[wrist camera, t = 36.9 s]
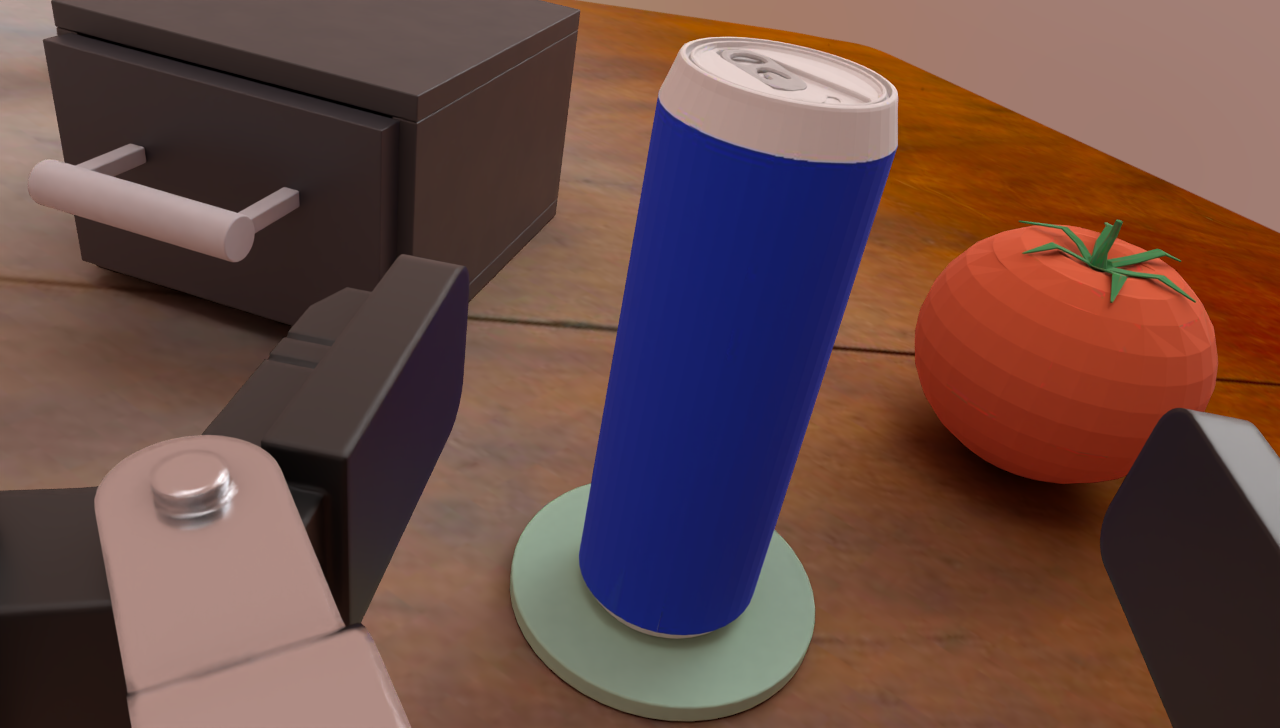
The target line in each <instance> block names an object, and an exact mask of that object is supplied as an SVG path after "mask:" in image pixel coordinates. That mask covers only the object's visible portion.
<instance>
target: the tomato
mask: <svg viewBox="0 0 1280 728" xmlns="http://www.w3.org/2000/svg"><path fill="white" fill-rule="evenodd" d="M1019 222H1021V223H1027V224H1033V225H1036V226H1030V227H1023V228H1019V229H1014V230H1010V231H1005V232H1001V233H999V234H996V235H994V236H991V237H989V238H986V239H984V240H981V241H979V242H977V243H976V244H974V245H973V246H972V247H970V248H969V249H968V250H966V251H965V252H963V253H962V254H961V255H959V256H958V257H957V258H956V259H954V260H953V261H952V262H950V263H949V265H948V266H947V267H946V268H945V269H944V270H943V272H942V273H941V274H940V275H939V276H938V277H937V279H936V280H935V282H934V284H933V285H932V287H931V289H930V291H929V293H928V295H927V297H926V299H925V301H924V303H923V305H922V307H921V309H920V312H919V316H918V321H917V325H916V329H915V364H916V368H917V371H918V375H919V379H920V382H921V385H922V388H923V391H924V394H925V396H926V398H927V400H928V402H929V403H930V405H931V407H932V408H933V410H934V412H935V413H936V415H937V416H938V418H939V419H940V421H941V423H942V424H943V425H944V426H945V427H946V428H947V429H948V430H949V431H950V432H951V433H952V434H953V435H954V436H955V437H956V438H957V439H958V440H959V441H960V442H961V443H962V444H963V445H965V446H966V447H967V448H968V449H969V450H971V451H972V452H973V453H974V454H976V455H977V456H979V457H981V458H982V459H984V460H985V461H987V462H989V463H991V464H993V465H995V466H996V467H998V468H1000V469H1003V470H1005V471H1008V472H1010V473H1013V474H1015V475H1018V476H1022V477H1025V478H1029V479H1033V480H1039V481H1045V482H1052V483H1059V484H1071V483H1096V482H1102V481H1108V480H1114V479H1119V478H1121V477H1124V476H1127V474H1128V472H1129V471H1130V469H1131V467H1132V465H1133V464H1134V462H1135V460H1136V459H1137V457H1138V455H1139V453H1140V452H1141V450H1142V448H1143V446H1144V445H1145V443H1146V441H1147V439H1148V438H1149V436H1150V434H1151V432H1152V431H1153V429H1154V427H1155V426H1156V424H1157V423H1158V421H1159V420H1160V418H1161V417H1162V416H1163V415H1164V414H1165V413H1167V412H1168V411H1170V410H1171V409H1174V408H1185V409H1190V410H1195V411H1200V412H1204V411H1205V409H1206V406H1207V404H1208V402H1209V399H1210V397H1211V395H1212V393H1213V390H1214V388H1215V382H1216V375H1217V367H1218V357H1217V349H1216V341H1215V334H1214V327H1213V325H1212V323H1211V321H1210V319H1209V317H1208V315H1207V313H1206V311H1205V309H1204V307H1203V304H1202V303H1201V301H1200V300H1199V299H1198V297H1197V296H1196V295H1195V293H1194V292H1193V291H1192V289H1191V288H1190V287H1189V285H1188V284H1187V283H1186V282H1185V281H1184V280H1183V278H1182V277H1181V276H1180V275H1179V274H1178V273H1177V272H1176V270H1175V269H1173V268H1172V267H1170V266H1169V265H1167V264H1166V263H1165V262H1163V261H1162V260H1160V259H1159V257H1162V256H1167V257H1170V258H1172V259H1174V260H1176V261H1179V262H1181V260H1179V259H1177V258H1175V257H1173V256H1171V255H1169V254H1168V253H1166V252H1164V251H1162V250H1160V249H1155V250H1151V251H1146V250H1144V249H1142V248H1139V247H1137V246H1134V245H1132V244H1130V243H1127V242H1125V241H1122V240H1120V239H1117V236H1118V233H1119V231H1120V228H1121V226H1122V223H1123V222H1122V221H1121V220H1116V222H1115V223H1114V225H1113V226H1112V225H1110V224H1108V223H1106V222H1105V223H1104V224H1105V225H1106V227H1105V228H1104V230H1103V231H1102V233H1098V232H1095V231H1091V230H1087V229H1084V228H1079V227H1073V226H1066V225H1050V224H1043V223H1035V222H1027V221H1019Z"/></svg>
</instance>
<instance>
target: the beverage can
mask: <svg viewBox="0 0 1280 728" xmlns="http://www.w3.org/2000/svg"><path fill="white" fill-rule="evenodd" d="M897 146H898V93H897V90H896V88H895V87H894V86H893V85H892V84H891V83H890V82H889V81H888V80H887V79H885V78H884V77H882V76H881V75H879V74H877V73H876V72H874V71H872V70H870V69H868V68H866V67H864V66H862V65H860V64H857V63H855V62H852V61H850V60H847V59H844V58H841V57H838V56H835V55H832V54H829V53H825V52H822V51H818V50H814V49H810V48H807V47H802V46H797V45H793V44H788V43H782V42H777V41H770V40H763V39H754V38H742V37H713V38H704V39H697V40H694V41H691V42H688V43H686V44H685V45H683V47H682V48H681V49H680V51H679V53H678V55H677V57H676V59H675V61H674V63H673V65H672V67H671V69H670V71H669V73H668V75H667V77H666V79H665V81H664V82H663V84H662V86H661V88H660V90H659V94H658V100H657V106H656V111H655V117H654V123H653V129H652V134H651V140H650V146H649V152H648V158H647V163H646V169H645V175H644V181H643V187H642V192H641V198H640V204H639V210H638V215H637V221H636V227H635V233H634V239H633V244H632V250H631V256H630V262H629V267H628V273H627V279H626V285H625V291H624V296H623V302H622V308H621V314H620V319H619V325H618V331H617V337H616V343H615V348H614V354H613V360H612V366H611V372H610V377H609V383H608V389H607V395H606V400H605V406H604V412H603V418H602V424H601V429H600V435H599V441H598V447H597V452H596V458H595V464H594V470H593V476H592V481H591V487H590V493H589V499H588V504H587V510H586V516H585V522H584V528H583V533H582V539H581V545H580V551H579V566H580V570H581V573H582V577H583V579H584V581H585V583H586V585H587V587H588V588H589V590H590V591H591V593H592V594H593V595H594V597H595V598H596V599H597V600H598V602H599V603H600V604H601V605H602V606H603V607H604V608H605V609H606V610H607V611H608V612H609V613H610V614H611V615H612V616H613V617H615V618H616V619H617V620H618V621H620V622H621V623H623V624H625V625H627V626H628V627H630V628H632V629H635V630H637V631H639V632H642V633H645V634H648V635H652V636H656V637H662V638H675V639H681V638H692V637H696V636H700V635H704V634H707V633H710V632H712V631H714V630H717V629H719V628H722V627H724V626H726V625H728V624H729V623H731V622H732V621H734V620H736V619H737V618H738V617H739V616H740V615H741V614H742V613H743V612H744V611H745V609H746V608H747V606H748V605H749V604H750V601H751V599H752V596H753V594H754V591H755V588H756V585H757V582H758V579H759V575H760V572H761V569H762V566H763V563H764V560H765V557H766V554H767V551H768V547H769V544H770V541H771V538H772V535H773V532H774V529H775V526H776V523H777V519H778V516H779V513H780V510H781V507H782V504H783V501H784V498H785V495H786V491H787V488H788V485H789V482H790V479H791V476H792V473H793V470H794V467H795V463H796V460H797V457H798V454H799V451H800V448H801V445H802V442H803V439H804V435H805V432H806V429H807V426H808V423H809V420H810V417H811V414H812V411H813V408H814V404H815V401H816V398H817V395H818V392H819V389H820V386H821V383H822V380H823V376H824V373H825V370H826V367H827V364H828V361H829V358H830V355H831V352H832V348H833V345H834V342H835V339H836V336H837V333H838V330H839V327H840V324H841V320H842V317H843V314H844V311H845V308H846V305H847V302H848V299H849V296H850V292H851V289H852V286H853V283H854V280H855V277H856V274H857V271H858V268H859V264H860V261H861V258H862V255H863V252H864V249H865V246H866V243H867V240H868V236H869V233H870V230H871V227H872V224H873V221H874V218H875V215H876V212H877V209H878V205H879V202H880V199H881V196H882V193H883V190H884V187H885V184H886V181H887V177H888V174H889V171H890V168H891V165H892V162H893V159H894V156H895V153H896V149H897Z"/></svg>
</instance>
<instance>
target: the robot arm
mask: <svg viewBox="0 0 1280 728" xmlns="http://www.w3.org/2000/svg"><path fill="white" fill-rule="evenodd" d="M468 301H469V272H468V269H467V267H466V266H461V265H456V264H451V263H446V262H441V261H436V260H431V259H426V258H420V257H415V256H410V255H405V254H402V255H400V256H399V257H398V258H397V259H396V260H395V262H394V263H393V264H392V266H391V267H390V268H389V270H388V271H387V272H386V274H385V275H384V276H383V278H382V279H381V280H380V282H379V283H378V284H377V286H376V287H375V288H374V290H373V291H372V292H369V291H364V290H359V289H354V288H349V287H346V288H344V289H342V290H340V291H338V292H337V293H335V294H333V295H331V296H329V297H327V298H325V299H323V300H321V301H319V302H317V303H315V304H313V305H311V306H310V307H309V308H308V309H307V310H306V311H305V312H304V314H303V315H302V316H301V317H300V318H299V320H298V321H297V322H296V323H295V324H294V326H293V327H292V328H291V329H290V330H289V331H288V336H287V338H285V337H283V339H282V340H281V341H280V342H279V343H278V345H277V346H276V347H275V348H274V349H273V350H272V352H271V353H270V357H269V360H266V359H265V360H264V361H263V362H262V363H261V365H260V366H259V367H258V368H257V369H256V371H255V372H254V373H253V374H252V375H251V377H250V378H249V379H248V380H247V381H246V382H245V384H244V385H243V386H242V387H241V388H240V390H239V391H238V392H237V393H236V394H235V396H234V397H233V398H232V399H231V400H230V401H229V403H228V404H227V405H226V406H225V407H224V409H223V410H222V411H221V412H220V413H219V415H218V416H217V417H216V418H215V419H214V420H213V422H212V423H211V424H210V425H209V426H208V428H207V429H206V430H205V431H204V432H203V434H202V435H195V436H186V437H179V438H174V439H170V440H166V441H162V442H159V443H156V444H153V445H150V446H147V447H145V448H143V449H141V450H139V451H137V452H135V453H133V454H131V455H130V456H128V457H126V458H125V459H123V460H122V461H120V462H119V463H118V464H117V465H116V466H114V467H113V468H112V469H111V470H110V471H109V472H108V473H107V475H106V476H105V477H104V478H103V479H102V481H101V483H100V485H99V486H97V487H86V488H68V489H39V490H9V491H0V728H411V726H410V723H409V721H408V719H407V716H406V714H405V712H404V709H403V707H402V705H401V702H400V700H399V698H398V695H397V693H396V691H395V688H394V686H393V684H392V681H391V679H390V677H389V674H388V672H387V670H386V667H385V665H384V663H383V660H382V658H381V656H380V653H379V651H378V649H377V647H376V645H375V642H374V640H373V639H372V637H371V635H370V633H369V632H368V630H367V629H366V628H365V626H363V625H362V624H361V621H362V619H363V617H364V615H365V613H366V611H367V609H368V607H369V604H370V602H371V600H372V598H373V596H374V594H375V592H376V590H377V587H378V585H379V583H380V581H381V579H382V577H383V575H384V573H385V571H386V568H387V566H388V564H389V562H390V560H391V558H392V556H393V554H394V551H395V549H396V547H397V545H398V543H399V541H400V539H401V537H402V534H403V532H404V530H405V528H406V526H407V524H408V522H409V520H410V518H411V515H412V513H413V511H414V509H415V507H416V505H417V503H418V501H419V498H420V496H421V494H422V492H423V490H424V488H425V486H426V484H427V481H428V479H429V477H430V475H431V473H432V471H433V469H434V467H435V465H436V462H437V460H438V458H439V456H440V454H441V452H442V450H443V448H444V445H445V443H446V441H447V439H448V437H449V435H450V433H451V430H452V428H453V425H454V422H455V419H456V415H457V411H458V407H459V403H460V398H461V392H462V385H463V375H464V360H465V345H466V330H467V315H468ZM1100 548H1101V556H1102V560H1103V563H1104V566H1105V568H1106V571H1107V573H1108V575H1109V578H1110V580H1111V582H1112V585H1113V587H1114V589H1115V592H1116V594H1117V597H1118V599H1119V601H1120V604H1121V606H1122V608H1123V611H1124V613H1125V615H1126V618H1127V620H1128V622H1129V625H1130V627H1131V630H1132V632H1133V634H1134V637H1135V639H1136V641H1137V644H1138V646H1139V648H1140V651H1141V653H1142V655H1143V658H1144V660H1145V663H1146V665H1147V667H1148V670H1149V672H1150V674H1151V677H1152V679H1153V681H1154V684H1155V686H1156V688H1157V691H1158V693H1159V696H1160V698H1161V700H1162V703H1163V705H1164V707H1165V710H1166V712H1167V714H1168V717H1169V719H1170V721H1171V724H1172V726H1173V728H1280V458H1279V457H1278V456H1277V454H1276V453H1275V452H1274V450H1273V449H1272V448H1271V446H1270V445H1269V444H1268V442H1267V441H1266V440H1265V438H1264V437H1263V435H1262V434H1261V433H1260V431H1259V430H1258V429H1257V428H1256V427H1255V426H1254V425H1253V424H1252V423H1250V422H1249V421H1246V420H1241V419H1236V418H1231V417H1226V416H1221V415H1216V414H1211V413H1206V412H1200V411H1195V410H1190V409H1185V408H1174V409H1171V410H1170V411H1168V412H1167V413H1165V414H1164V415H1163V416H1162V417H1161V418H1160V420H1159V421H1158V423H1157V424H1156V426H1155V427H1154V429H1153V431H1152V432H1151V434H1150V436H1149V438H1148V439H1147V441H1146V443H1145V445H1144V446H1143V448H1142V450H1141V452H1140V453H1139V455H1138V457H1137V459H1136V460H1135V462H1134V464H1133V465H1132V467H1131V469H1130V471H1129V472H1128V474H1127V476H1126V478H1125V479H1124V481H1123V483H1122V485H1121V486H1120V488H1119V490H1118V492H1117V493H1116V495H1115V497H1114V499H1113V500H1112V502H1111V504H1110V505H1109V507H1108V509H1107V511H1106V514H1105V517H1104V520H1103V524H1102V529H1101V537H1100Z"/></svg>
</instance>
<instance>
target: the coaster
mask: <svg viewBox="0 0 1280 728" xmlns="http://www.w3.org/2000/svg"><path fill="white" fill-rule="evenodd" d="M590 487H591V483H590V484H587V485H584V486H581V487H578V488H576V489H573V490H571V491H569V492H567V493H565V494H563V495H561V496H559V497H558V498H556V499H555V500H553V501H551V502H550V503H549V504H547V505H546V506H545V507H544V508H543V509H541V510H540V511H539V512H538V513H537V514H536V515H535V516H534V517H533V519H532V520H531V521H530V522H529V523H528V525H527V526H526V528H525V529H524V531H523V532H522V534H521V536H520V538H519V540H518V543H517V545H516V548H515V551H514V556H513V560H512V566H511V574H510V594H511V602H512V607H513V610H514V613H515V617H516V620H517V622H518V624H519V626H520V628H521V630H522V632H523V635H524V637H525V638H526V640H527V641H528V643H529V644H530V646H531V647H532V649H533V650H534V651H535V653H536V654H537V655H538V656H539V657H540V659H541V660H542V661H543V662H544V663H545V664H546V665H547V666H548V667H549V668H550V669H551V670H552V671H553V672H554V673H555V674H557V675H558V676H559V677H560V678H561V679H562V680H564V681H565V682H566V683H568V684H569V685H571V686H572V687H574V688H575V689H577V690H578V691H580V692H581V693H583V694H585V695H587V696H589V697H590V698H592V699H594V700H596V701H598V702H600V703H602V704H605V705H607V706H610V707H613V708H615V709H618V710H620V711H623V712H626V713H630V714H634V715H638V716H642V717H646V718H653V719H660V720H667V721H701V720H712V719H717V718H721V717H726V716H730V715H734V714H737V713H739V712H742V711H745V710H748V709H750V708H752V707H754V706H756V705H758V704H760V703H762V702H763V701H765V700H767V699H769V698H770V697H771V696H772V695H774V694H775V693H776V692H778V691H779V690H780V689H782V688H783V687H784V686H785V684H786V683H787V682H788V681H789V680H790V679H791V678H792V677H793V676H794V674H795V673H796V671H797V670H798V668H799V666H800V665H801V663H802V661H803V659H804V656H805V654H806V651H807V649H808V646H809V644H810V641H811V639H812V635H813V630H814V625H815V604H814V597H813V591H812V588H811V585H810V582H809V579H808V576H807V574H806V572H805V570H804V568H803V566H802V564H801V562H800V560H799V559H798V557H797V556H796V554H795V553H794V551H793V550H792V549H791V547H790V546H789V545H788V544H787V543H786V541H785V540H784V539H783V538H782V537H781V536H780V535H779V534H778V533H777V532H776V531H775V530H774V532H773V535H772V538H771V541H770V544H769V547H768V551H767V554H766V557H765V560H764V563H763V566H762V569H761V572H760V575H759V579H758V582H757V585H756V588H755V591H754V594H753V596H752V599H751V601H750V604H749V605H748V606H747V608H746V609H745V611H744V612H743V613H742V614H741V615H740V616H739V617H738V618H737V619H736V620H734V621H732V622H731V623H729V624H728V625H726V626H724V627H722V628H719V629H717V630H714V631H712V632H710V633H707V634H704V635H700V636H696V637H692V638H681V639H675V638H662V637H656V636H652V635H648V634H645V633H642V632H639V631H637V630H635V629H632V628H630V627H628V626H627V625H625V624H623V623H621V622H620V621H618V620H617V619H616V618H615V617H613V616H612V615H611V614H610V613H609V612H608V611H607V610H606V609H605V608H604V607H603V606H602V605H601V604H600V603H599V602H598V600H597V599H596V598H595V597H594V595H593V594H592V593H591V591H590V590H589V588H588V587H587V585H586V583H585V581H584V579H583V577H582V573H581V570H580V566H579V551H580V545H581V539H582V533H583V528H584V522H585V516H586V510H587V504H588V499H589V493H590Z"/></svg>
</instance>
